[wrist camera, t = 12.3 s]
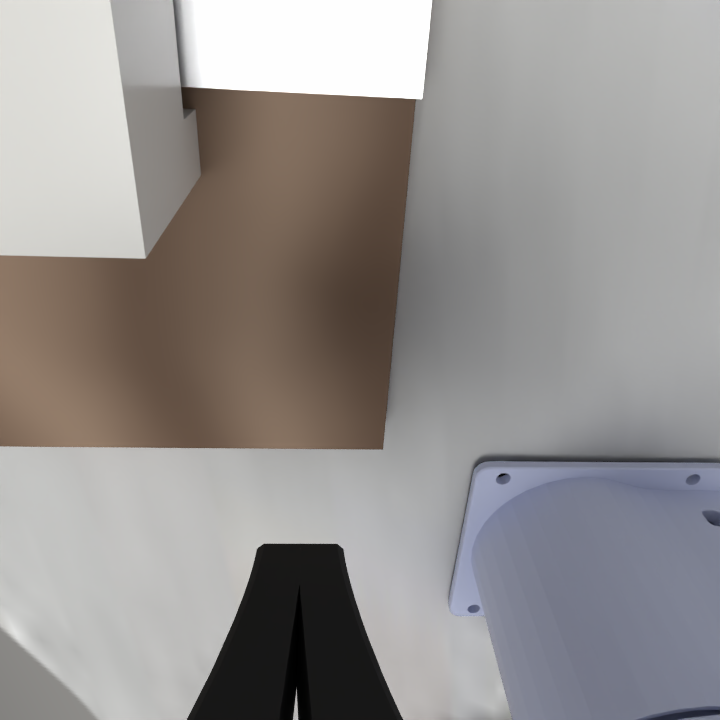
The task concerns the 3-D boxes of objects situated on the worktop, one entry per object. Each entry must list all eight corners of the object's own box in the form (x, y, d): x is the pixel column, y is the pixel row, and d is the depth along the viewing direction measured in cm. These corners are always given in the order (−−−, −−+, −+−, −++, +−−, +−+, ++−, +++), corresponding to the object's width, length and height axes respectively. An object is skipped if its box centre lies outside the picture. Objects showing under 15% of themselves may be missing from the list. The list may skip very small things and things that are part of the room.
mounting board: (433, -204, 13) (445, -227, 11) (378, 421, 21) (382, 449, 20) (-183, -259, 12) (-244, -289, 11) (11, 417, 20) (-10, 446, 19)
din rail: (439, -158, 12) (487, -219, 9) (409, 159, 15) (436, 208, 12) (-220, -213, 11) (-463, -307, 8) (-109, 136, 14) (-247, 182, 11)
